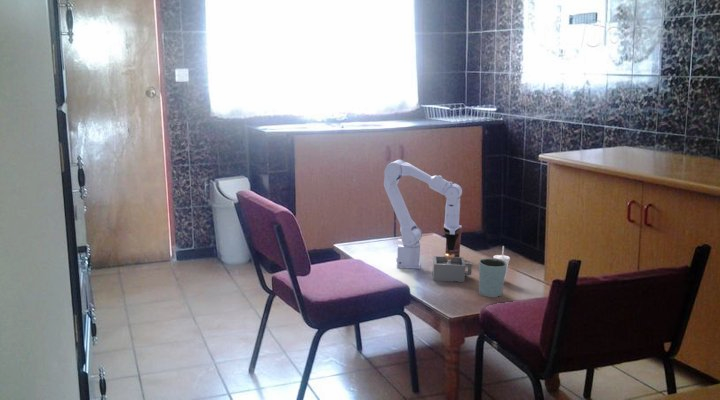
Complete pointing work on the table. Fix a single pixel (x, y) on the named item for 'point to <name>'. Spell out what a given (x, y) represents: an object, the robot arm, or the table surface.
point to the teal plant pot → (491, 277)
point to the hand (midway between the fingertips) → (450, 247)
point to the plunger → (449, 257)
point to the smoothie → (503, 259)
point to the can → (457, 244)
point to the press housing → (450, 269)
